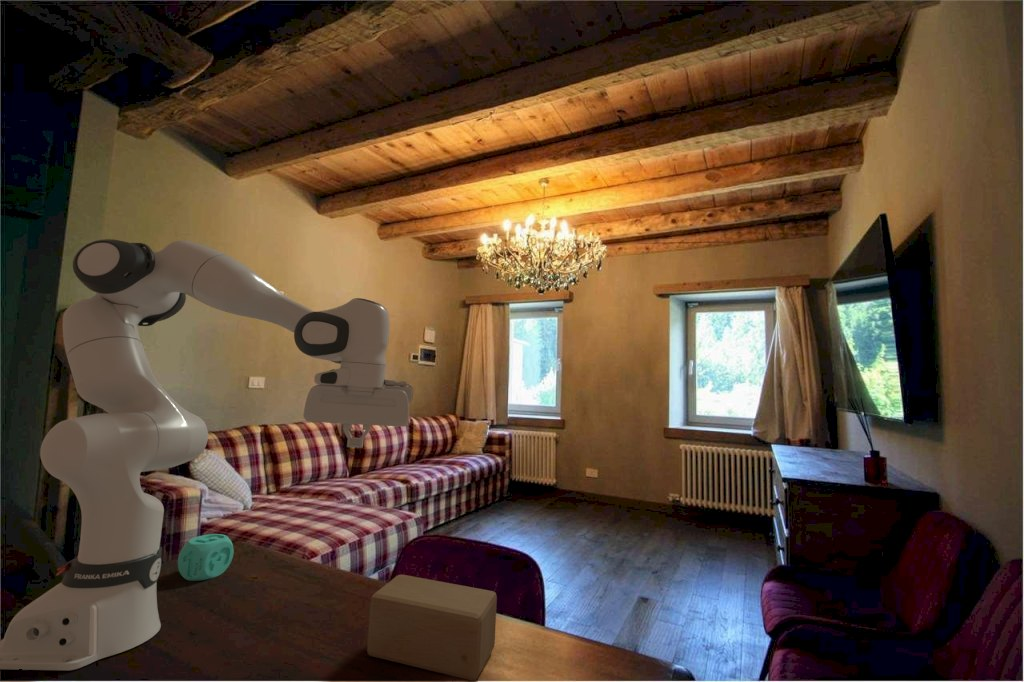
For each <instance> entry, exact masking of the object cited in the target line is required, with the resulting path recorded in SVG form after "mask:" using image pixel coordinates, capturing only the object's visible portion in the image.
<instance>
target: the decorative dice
mask: <svg viewBox="0 0 1024 682" xmlns="http://www.w3.org/2000/svg"><path fill="white" fill-rule="evenodd" d="M234 552H235V551H234V544H233V542H232V540H231V539H230V538H229V537H228V536H227V535H226V534H221V533H212V534H211V533H209V534H203V535H199V536H195V537H192V538H191V539H189V540H188V541H187V542H186V543H185V544H184V545H183V547H182V548H181V550H180V551H179V553H178V557H177V568H178V572H179V573H180V576H182V577H183V579H185V580H187V581H191V582H198V581H207V580H211V579H214V578H216V577H219V576H221V575H222V574H224V572H225V571H226V570H227V569H228V568H229V567H230V564H231V563H232V560H233V557H234Z"/></svg>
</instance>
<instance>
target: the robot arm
mask: <svg viewBox="0 0 1024 682" xmlns="http://www.w3.org/2000/svg"><path fill="white" fill-rule="evenodd" d="M72 269H73V272H74V274H75V276H76V277H77V279H78V280H79V281H80V283H82V284H83V285H84V286H85V287H86V288H87V289H89V290H90V291H92V292H95V294H94V295H93V296H92V297H90V298H86V299H82V300H79V301H76V302H75V303H72V304H70V306H69V307H67V308H66V310H65V311H64V313H63V315H62V336H63V346H64V350H65V354H66V358H67V362H68V365H69V368H70V371H71V375H72V378H73V382H74V386H75V389H76V392H77V393H78V395H79V397H81V399H83V400H84V401H85V402H88V403H89V404H91V405H94V406H96V407H98V408H99V409H102V410H103V411H105V413H104V412H103V413H93V414H88V415H84V416H83V415H82V416H77V417H73V418H68V419H64V420H61V421H60V422H59V421H58V423H56V424H55V425H54V426H53V427H52V428H51V429H50V430H49V431H48V432H47V434H46V435H45V436H44V438H43V440H42V442H41V446H40V450H39V452H40V453H39V456H40V460H41V463H42V465H43V467H44V469H45V470H46V471H47V472H48V474H50V475H51V476H52V477H54V478H55V479H58V480H59V481H61V482H63V483H64V484H65V485H67V486H68V487H69V488H70V489H71V490H72V492H73V493H74V495H75V497H76V499H77V501H78V504H79V508H80V511H81V524H80V525H81V526H80V539H79V540H80V541H79V546H78V547H79V548H78V555H77V556H76V557H75V558H73V559H71V560H70V561H68V562H66V563H65V564H64V565H63V566H61V567H59V568H57V569H56V571H58V572H57V573H56V575H55V576H60V575H62V574H64V575H63V578H62V580H61V582H59V583H58V584H56V585H55V586H54V587H52V588H50V589H49V590H47V591H46V592H45V593H43V594H42V595H40V596H39V597H37V598H36V599H34V600H32V601H31V602H30V603H29V604H27V605H26V606H24V607H23V608H21V609H20V610H19V611H18V612H17V613H16V614H15V615H14V617H13V618H12V619H11V621H10V622H9V624H8V626H7V629H6V632H5V634H4V637H3V638H2V639H1V640H0V670H19V669H22V670H21V671H30V670H32V671H74V670H78V669H81V668H83V667H86V666H88V665H90V664H92V663H94V662H96V661H99V660H101V659H104V658H107V657H108V658H109V657H111V656H114V655H117V654H120V653H123V652H126V651H129V650H131V649H134V648H135V647H138V646H140V645H142V644H144V643H145V642H147V641H149V640H150V639H152V638H153V637H154V636H155V635H157V633H158V632H159V631H160V630H161V626H162V623H161V620H160V615H159V610H158V599H157V598H158V596H157V595H158V594H157V592H158V591H157V586H158V585H157V582H158V580H159V576H160V573H161V568H162V567H161V566H162V552H163V547H162V546H161V538H162V529H163V522H164V513H165V508H164V505H163V503H162V501H160V499H158V498H157V497H155V496H154V495H151V494H149V493H146V492H144V491H143V488H142V487H141V481H140V480H141V479H140V478H141V473H142V472H143V473H145V472H151V471H157V470H165V469H171V468H175V467H177V466H180V465H182V464H183V465H184V464H186V463H188V462H190V461H193V460H195V459H197V458H199V456H201V455H202V453H204V451H205V448H206V447H207V444H208V441H209V431H208V427H207V424H206V423H205V421H204V420H203V418H201V417H200V416H198V415H196V414H194V413H192V412H190V411H188V410H186V409H185V408H183V406H181V405H180V404H179V403H177V401H176V400H175V399H173V397H172V396H171V395H170V394H169V393H167V391H166V390H165V389H164V388H163V387H162V385H161V384H160V382H159V381H158V380H157V378H156V376H155V374H154V372H153V370H152V367H151V364H150V362H149V359H148V357H147V353H146V351H145V348H144V344H143V342H142V340H141V336H140V333H139V330H138V326H140V327H151V326H153V325H155V324H156V323H157V322H161V321H165V320H167V319H169V318H171V317H173V316H175V315H176V314H177V313H179V312H180V311H181V310H182V309H183V307H184V306H185V303H186V299H187V297H186V295H187V296H189V297H191V298H193V299H195V300H196V301H199V302H200V303H202V304H204V305H205V306H209V307H211V308H213V309H216V310H219V311H221V312H224V313H229V314H231V315H235V316H236V315H237V316H241V317H246V318H250V319H255V320H260V321H264V322H268V323H272V324H274V325H277V326H280V327H282V328H284V329H286V330H288V331H290V332H292V333H293V339H294V342H295V343H294V344H295V345H296V347H297V348H298V350H299V351H300V352H301V353H303V354H304V355H307V356H308V357H310V358H314V359H319V360H324V361H330V362H331V363H332V362H333V363H335V364H339V365H340V367H339V368H333V369H330V370H327V371H322V372H318V373H316V374H315V375H314V379H313V380H314V383H315V384H316V385H313V386H312V387H311V388H310V389H309V391H308V393H307V396H306V399H305V400H306V401H305V404H304V410H303V418H304V420H305V421H306V422H308V423H309V422H310V423H323V424H324V423H327V424H329V423H330V424H343V425H342V426H343V427H342V430H343V434H344V435H345V437H346V438H347V442H346V443H347V444H346V448H358V449H359V448H361V449H362V448H363V446H364V439H365V438H366V437H367V435H368V434H369V432H370V431H371V426H379V427H380V426H381V427H382V426H384V427H386V426H387V427H401V428H402V427H403V428H405V427H406V426H407V425H409V423H410V421H409V420H410V403H411V402H412V400H413V396H414V389H413V387H412V385H411V384H409V383H408V382H407V381H405V380H404V381H401V380H400V381H398V380H391V379H386V371H387V360H386V352H387V349H388V347H389V342H390V341H389V340H390V314H389V311H388V309H386V307H385V306H383V305H382V304H380V303H379V302H376V301H373V300H371V299H366V298H359V297H356V298H352V299H350V300H349V301H348V302H346V303H344V304H341V305H339V306H337V307H334V308H330V309H325V310H319V311H318V310H317V311H314V310H312V309H310V308H308V307H306V306H304V305H302V304H300V303H298V302H297V301H294V300H293V299H291V298H289V297H288V296H287V295H286V294H283V293H282V292H281V291H279V290H278V289H277V288H276V287H274V286H273V285H272V284H271V283H269V282H268V281H267V280H266V279H264V278H263V277H261V276H260V275H259V274H258V273H257V272H255V271H254V270H252V269H251V268H249V267H248V266H247V265H245V264H244V263H242V262H240V261H239V260H238V259H236V258H233V257H232V256H229V255H228V254H226V253H224V252H222V251H219V250H217V249H214V248H213V247H210V246H207V245H204V244H201V243H198V242H195V241H191V240H186V239H185V240H184V239H183V240H182V239H181V240H180V239H179V240H176V241H172V242H171V243H169V244H167V245H165V246H164V247H163V249H161V250H159V251H153V249H151V247H150V246H149V245H148V244H146V243H143V242H128V241H124V240H118V239H110V238H105V239H98V240H94V241H91V242H89V243H87V244H84V246H82V247H81V248H80V249H78V251H77V252H76V254H75V255H74V258H73V260H72ZM353 425H362V427H361V428H362V431H363V433H362V435H360V437H353V435H352V433H351V431H350V430H351V429H352V427H353ZM19 671H20V670H19Z"/></svg>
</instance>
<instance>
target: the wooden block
mask: <svg viewBox="0 0 1024 682" xmlns="http://www.w3.org/2000/svg"><path fill="white" fill-rule="evenodd" d="M497 601H498V597H497V593H496V592H495V591H493V590H488V589H483V588H478V587H471V586H466V585H463V584H462V585H461V584H455V583H449V582H445V581H439V580H433V579H429V578H424V577H423V578H422V577H418V576H412V575H407V574H406V575H405V574H398V575H396V576H395V577H394V578H392V579H391V580H390V581H388V582H387V583H386V584H385V585H383V586H382V587H381V588H380V589H378V590H377V591H376V592H375V593H374V594H373V595H372V596H371V599H370V604H369V607H370V608H369V618H368V631H367V633H368V634H367V648H366V652H367V654H368V655H369V657H374V658H378V659H382V660H386V661H391V662H395V663H398V664H399V663H400V664H403V665H407V666H411V667H415V668H419V669H422V670H423V669H424V670H427V671H431V672H435V673H440V674H443V675H444V674H445V675H448V676H452V677H456V678H461V679H464V680H468V681H476V680H477V679H478V678H479V676H480V674H481V672H482V670H483V669H484V667H485V666H486V663H487V661H488V659H489V657H490V656H491V654H492V652H493V650H494V648H495V645H496V642H495V640H496V621H497V605H498V603H497Z"/></svg>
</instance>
